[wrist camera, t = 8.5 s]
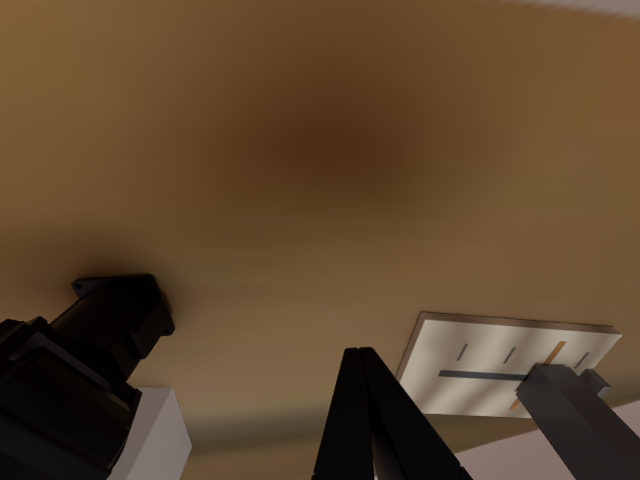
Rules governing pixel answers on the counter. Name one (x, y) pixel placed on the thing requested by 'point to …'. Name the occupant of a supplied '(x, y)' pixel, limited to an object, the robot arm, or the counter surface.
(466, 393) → the console panel
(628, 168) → the counter surface
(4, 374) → the robot arm
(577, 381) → the fader cap
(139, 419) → the milk
